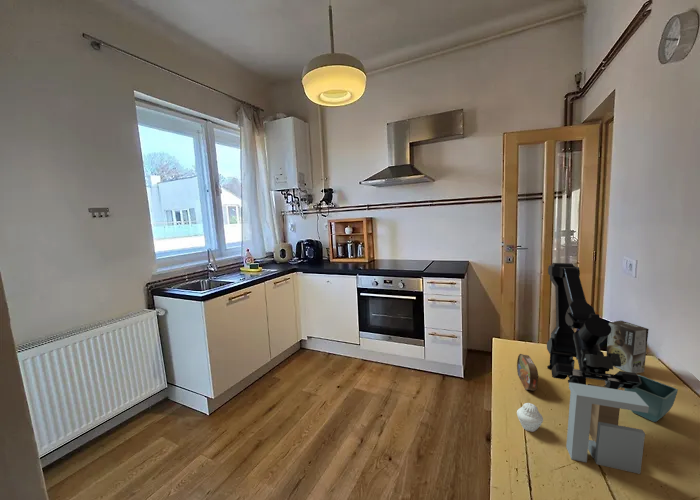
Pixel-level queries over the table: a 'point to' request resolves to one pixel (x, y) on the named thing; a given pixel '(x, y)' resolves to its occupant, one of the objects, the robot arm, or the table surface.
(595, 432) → the brown wooden block
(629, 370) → the coffee box
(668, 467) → the table surface
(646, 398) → the flower pot
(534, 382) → the tin
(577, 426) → the grey gallows bracket
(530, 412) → the muffin
